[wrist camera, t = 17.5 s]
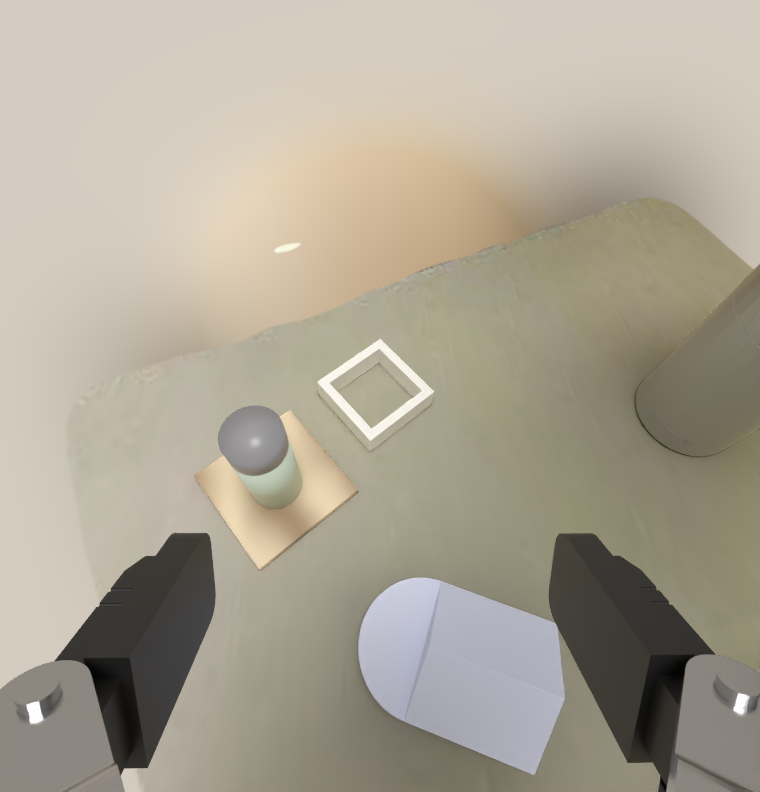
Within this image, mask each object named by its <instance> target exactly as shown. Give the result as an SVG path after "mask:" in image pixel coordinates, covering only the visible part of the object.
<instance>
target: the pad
mask: <svg viewBox="0 0 760 792" xmlns="http://www.w3.org/2000/svg"><path fill="white" fill-rule="evenodd" d="M280 418H281V420H282V422H283V425H284V428H285V431H286V434H287V436H288V439H289V442H290V445H291V448H292V450H293V453H294V456H295V459H296V462H297V464H298V467H299V470H300V473H301V476H302V488H301V491H300V493H299V495H298V497H297V498H296V499H295V500H294V501H293V502H292V503H291V504H289V505H288V506H286V507H283V508H279V509H268V508H265V507H263V506H261V505H259V504H258V503H257V502H256V501H255V500H254V498H253V497H252V495H251V494H250V492H249V491H248V489H247V488H246V487H245V485H244V484H243V482H242V481H241V479H240V478H239V476H238V475H237V474H236V472H235V471H234V469H233V468H232V466H231V465H230V463H229V462H228V461H227V459H226V458H225V456H222V457H221V458H219V459H218V460H216V461H215V462H213V463H212V464H210V465H209V466H208V467H206V468H205V469H203V470H202V471H200V472H199V473H197V474H196V475H194V477H195V478H196V480H197V481H198V483H199V484H200V485H201V487H202V488H203V490H204V491H205V493H206V494H207V495H208V497H209V498H210V500H211V501H212V503H213V504H214V505H215V507H216V508H217V510H218V511H219V513H220V514H221V516H222V517H223V518H224V520H225V521H226V523H227V524H228V526H229V527H230V528H231V530H232V531H233V533H234V534H235V536H236V537H237V538H238V540H239V541H240V543H241V544H242V546H243V547H244V549H245V550H246V551H247V553H248V554H249V556H250V557H251V559H252V560H253V561H254V563H255V564H256V566H257V567H258V569H259V570H260V571H261V570H262V569H263V568H264V567H266V566H267V565H268V564H269V563H271V562H272V561H273V560H274V559H276V558H277V557H278V556H279V555H281V554H282V553H283V552H284V551H286V550H287V549H288V548H289V547H291V546H292V545H293V544H294V543H295V542H297V541H298V540H299V539H300V538H302V537H303V536H304V535H305V534H307V533H308V532H309V531H310V530H312V529H313V528H314V527H315V526H317V525H318V524H319V523H320V522H322V521H323V520H324V519H325V518H327V517H328V516H329V515H330V514H332V513H333V512H334V511H335V510H336V509H338V508H339V507H340V506H341V505H343V504H344V503H345V502H346V501H348V500H349V499H350V498H351V497H353V496H354V495H355V494H356V493H358V490H357V488H356V487H355V486H354V485H353V484H352V483H351V481H350V480H349V479H348V478H347V477H346V475H345V474H344V473H343V472H342V471H341V470H340V468H339V467H338V466H337V465H336V464H335V462H334V461H333V460H332V459H331V458H330V457H329V455H328V454H327V453H326V452H325V451H324V450H323V448H322V447H321V446H320V445H319V444H318V442H317V441H316V440H315V439H314V438H313V437H312V435H311V434H310V433H309V432H308V431H307V430H306V428H305V427H304V426H303V425H302V424H301V422H300V421H299V420H298V419H297V418H296V417H295V415H294V414H293V413H292V412H291V411H290V410H289V411H287V412H286V413H285V414H283V415H282V416H280Z"/></svg>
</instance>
